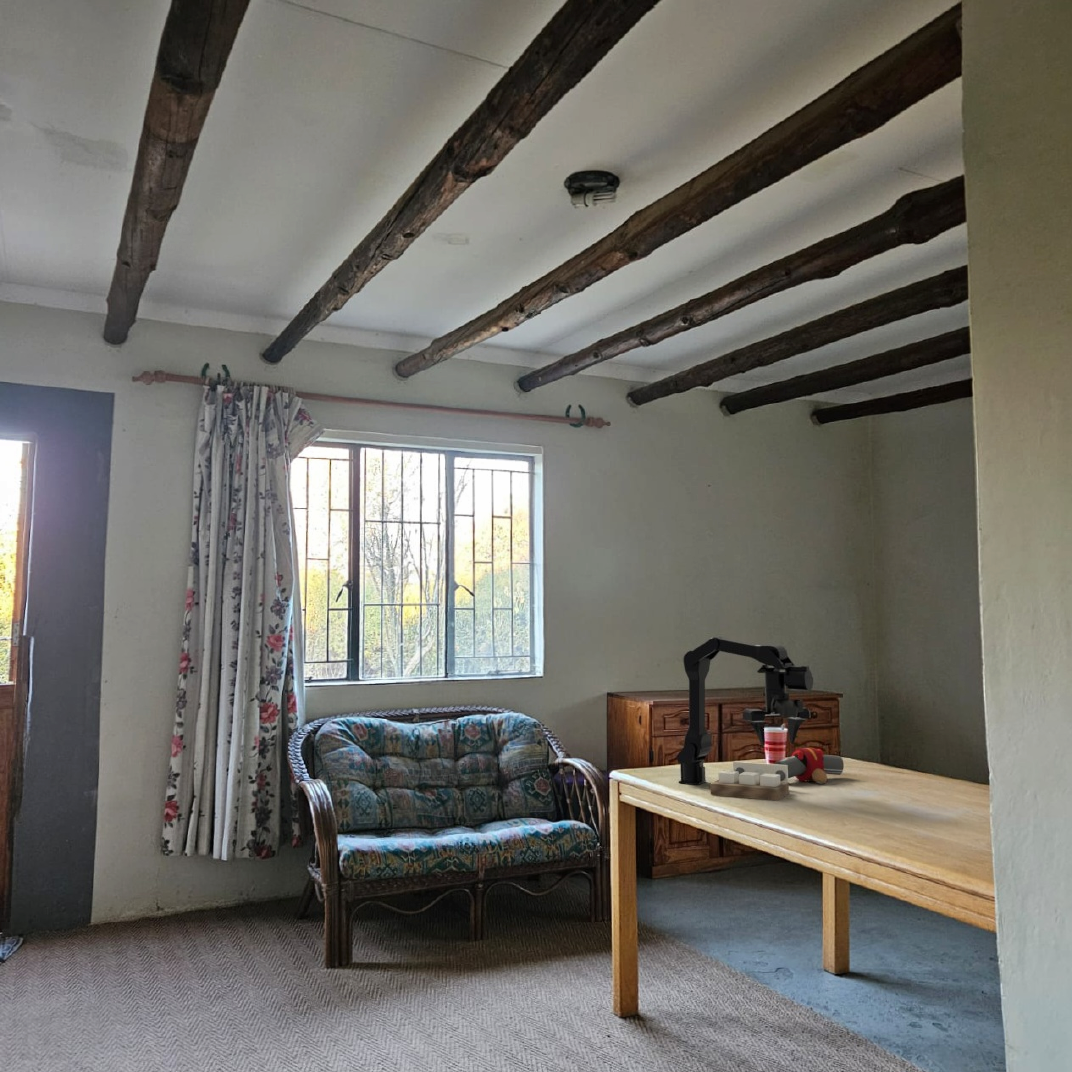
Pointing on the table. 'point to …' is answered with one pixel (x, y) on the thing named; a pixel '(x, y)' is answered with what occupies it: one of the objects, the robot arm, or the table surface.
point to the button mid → (749, 778)
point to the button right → (770, 780)
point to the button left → (729, 777)
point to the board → (750, 790)
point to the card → (762, 769)
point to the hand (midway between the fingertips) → (777, 744)
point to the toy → (812, 765)
